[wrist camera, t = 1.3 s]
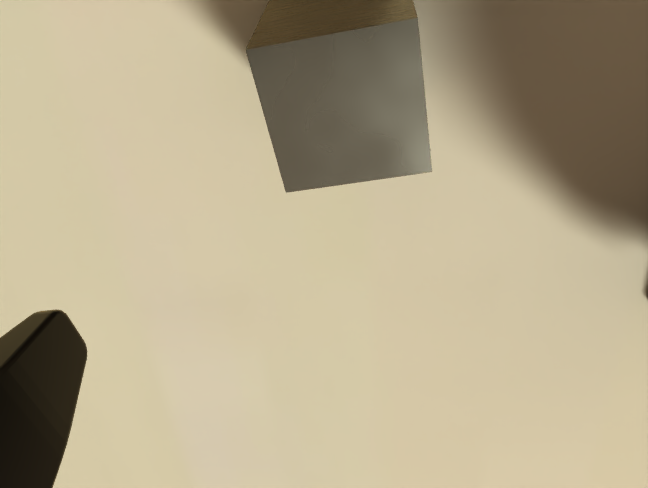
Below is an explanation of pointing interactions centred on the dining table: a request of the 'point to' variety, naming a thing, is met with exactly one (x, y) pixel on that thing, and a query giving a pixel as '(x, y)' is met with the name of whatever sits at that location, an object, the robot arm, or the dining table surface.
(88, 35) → the dining table surface
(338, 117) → the block
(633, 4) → the dining table surface
